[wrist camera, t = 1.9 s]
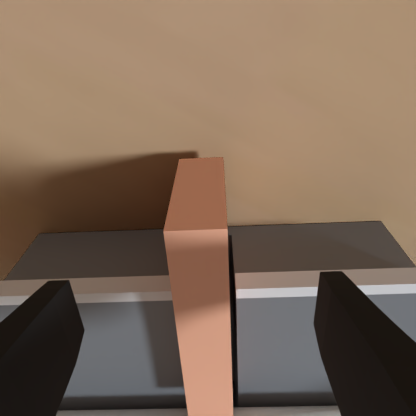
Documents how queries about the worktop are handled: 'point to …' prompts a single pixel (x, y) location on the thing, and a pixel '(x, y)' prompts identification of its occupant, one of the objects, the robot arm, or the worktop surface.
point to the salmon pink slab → (201, 284)
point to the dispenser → (239, 313)
